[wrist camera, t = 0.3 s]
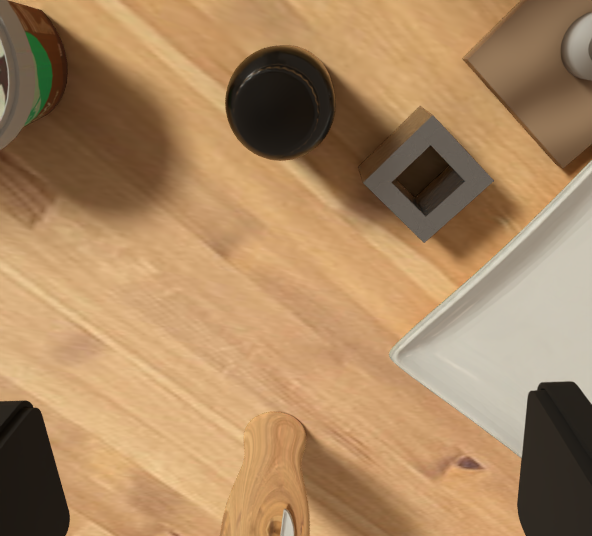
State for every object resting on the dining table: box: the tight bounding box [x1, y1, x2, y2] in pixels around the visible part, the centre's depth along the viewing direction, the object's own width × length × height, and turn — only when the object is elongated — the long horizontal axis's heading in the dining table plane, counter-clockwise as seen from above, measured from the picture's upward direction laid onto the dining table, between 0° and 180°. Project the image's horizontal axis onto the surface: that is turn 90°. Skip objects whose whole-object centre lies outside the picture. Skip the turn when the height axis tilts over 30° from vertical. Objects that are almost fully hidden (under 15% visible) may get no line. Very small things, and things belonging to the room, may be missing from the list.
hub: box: [358, 106, 494, 243], centre depth 42 cm, size 6×6×5 cm
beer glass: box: [220, 412, 310, 536], centre depth 48 cm, size 7×7×15 cm
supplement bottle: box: [225, 45, 336, 161], centre depth 37 cm, size 7×7×12 cm
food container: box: [0, 0, 68, 150], centre depth 38 cm, size 12×6×10 cm, turn 132°
